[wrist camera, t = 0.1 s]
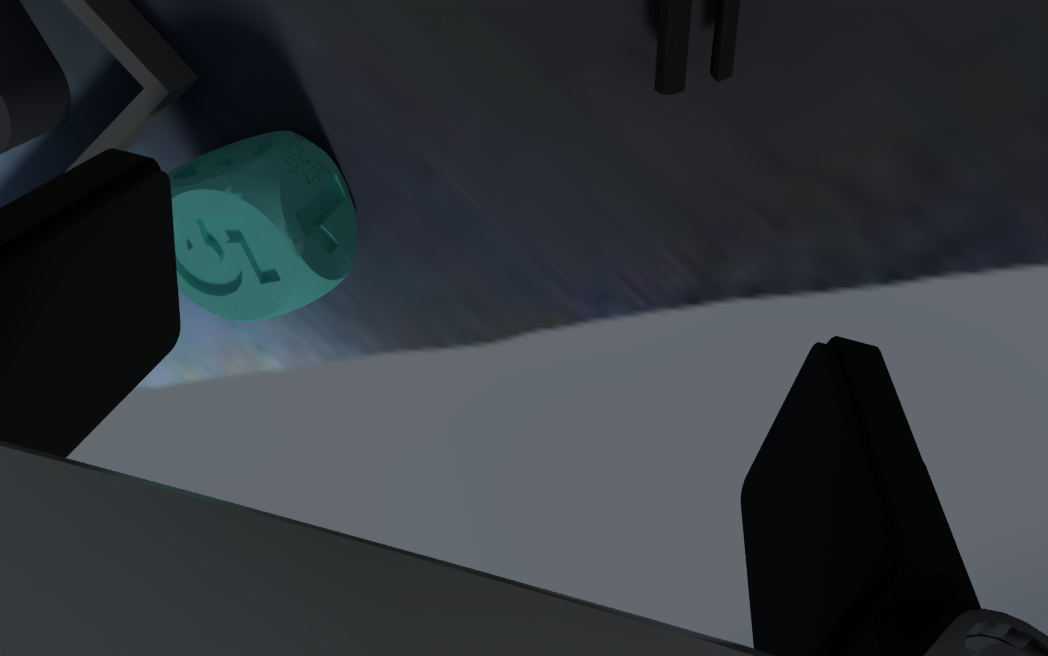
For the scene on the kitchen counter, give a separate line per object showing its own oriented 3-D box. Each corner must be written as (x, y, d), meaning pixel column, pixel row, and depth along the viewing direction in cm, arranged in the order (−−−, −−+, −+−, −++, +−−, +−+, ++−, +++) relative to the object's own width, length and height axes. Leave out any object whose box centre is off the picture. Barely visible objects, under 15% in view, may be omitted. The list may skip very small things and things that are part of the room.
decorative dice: (373, 243, 47) (322, 311, 41) (262, 265, 49) (197, 333, 43) (320, 118, 43) (255, 169, 37) (203, 148, 46) (122, 202, 39)
